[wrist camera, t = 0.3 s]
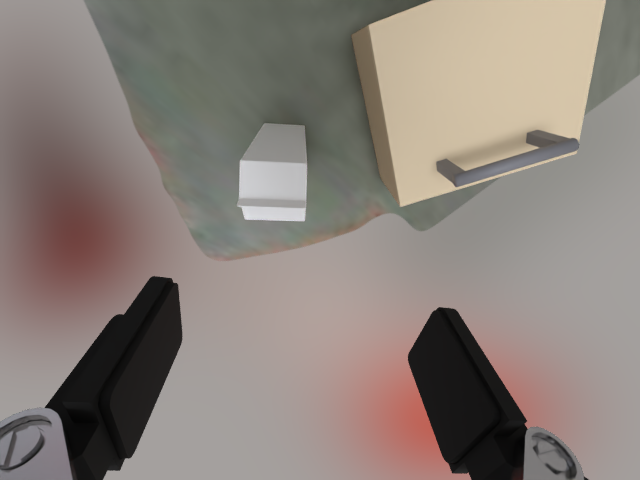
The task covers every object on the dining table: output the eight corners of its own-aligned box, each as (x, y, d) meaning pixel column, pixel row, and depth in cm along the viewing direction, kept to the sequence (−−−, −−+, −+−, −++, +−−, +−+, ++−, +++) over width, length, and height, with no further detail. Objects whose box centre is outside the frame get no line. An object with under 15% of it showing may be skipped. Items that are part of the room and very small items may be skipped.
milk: (303, 164, 44) (306, 239, 25) (264, 163, 43) (238, 238, 25) (304, 124, 41) (309, 175, 22) (263, 121, 40) (231, 172, 22)
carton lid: (366, 25, 27) (383, 15, 21) (610, -69, 24) (700, -107, 19) (398, 204, 37) (415, 228, 32) (571, 151, 35) (622, 167, 29)
